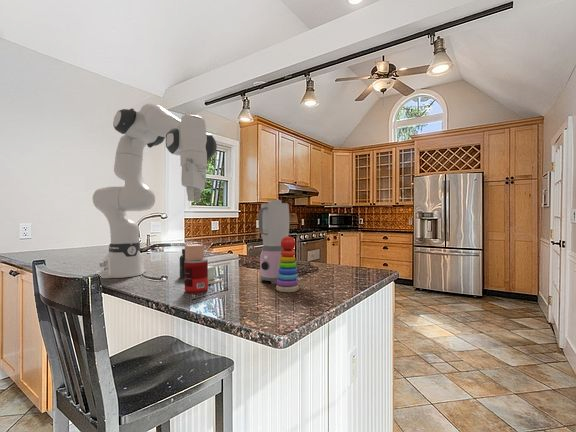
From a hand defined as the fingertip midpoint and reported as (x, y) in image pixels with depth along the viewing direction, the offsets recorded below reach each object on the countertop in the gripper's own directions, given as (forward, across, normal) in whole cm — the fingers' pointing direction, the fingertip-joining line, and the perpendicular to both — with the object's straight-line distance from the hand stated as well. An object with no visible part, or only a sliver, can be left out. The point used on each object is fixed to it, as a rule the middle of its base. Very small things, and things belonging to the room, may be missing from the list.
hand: (194, 201), depth 109 cm
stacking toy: (+31, -2, -32) cm, 45 cm away
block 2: (+30, +14, -1) cm, 33 cm away
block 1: (+20, 0, 0) cm, 20 cm away
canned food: (+31, 0, 0) cm, 31 cm away
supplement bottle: (+31, +24, +8) cm, 40 cm away
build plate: (+31, +14, -1) cm, 34 cm away
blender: (+31, +12, -27) cm, 43 cm away
